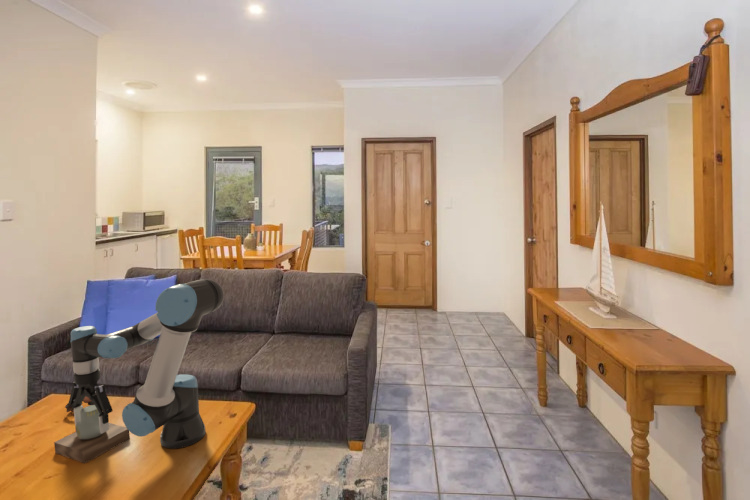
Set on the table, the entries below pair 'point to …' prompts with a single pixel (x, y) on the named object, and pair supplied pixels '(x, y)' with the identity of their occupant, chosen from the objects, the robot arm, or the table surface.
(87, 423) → the air freshener
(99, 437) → the walnut stand
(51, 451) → the table surface
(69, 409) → the brown curved piece
